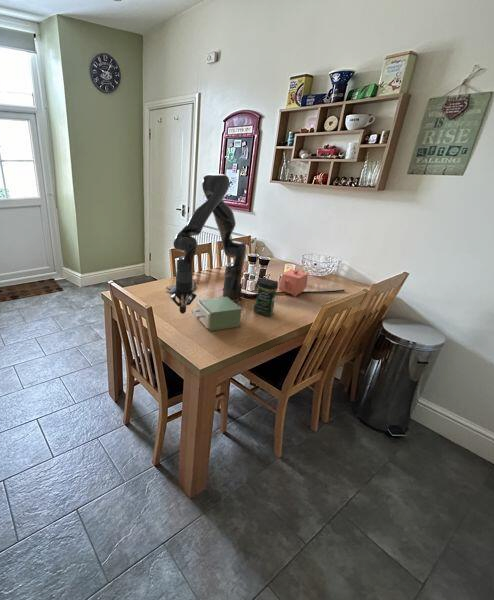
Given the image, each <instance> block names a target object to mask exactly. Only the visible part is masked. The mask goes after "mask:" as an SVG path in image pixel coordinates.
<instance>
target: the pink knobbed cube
mask: <svg viewBox="0 0 494 600" xmlns="http://www.w3.org/2000/svg"><path fill="white" fill-rule="evenodd" d="M307 284H308V273H307V272H305V271H303V270H298V269H289V270H286V271H284V272H283V273H282V274H281V277H280V279H279V282H278V291H279V292H287V293H286V294H290V295H291V296H292V297H297V296H298V295H299V294H302V293H301V292H305V290H306V289H307Z"/></svg>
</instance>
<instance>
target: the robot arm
mask: <svg viewBox="0 0 494 600" xmlns="http://www.w3.org/2000/svg"><path fill="white" fill-rule="evenodd" d="M230 183H231V181H230V178H229V177H228V175H226V174H221V173H207V174H205V175H204V176H203V178H202V181H201V186H202V187H201V188H202V191H203V194H204V196H205V198H206V201H204V202H203V203H202V204H201V205H200V206H198V207H197V208H196V209H195V210H194V212H193V213H192V214H191V216H190V218H189V220H188V221H187V223H186V225H185V226H184V227H183V228H181V230H180V231H179V232H178V233H177V234H176V236H175V238H174V240H173V248H174V250H176V251H178V252H182V253H185V254H184V255H181V256H178V257H177V259H176V271H175V286H176V290H175V293H173V294H172V295H170V296H169V298H170V299H171V300H172V301H173V303H174V304H175V305H176V306H177V307H178V308H179V309H178V310H179V311H178V312H180V314H181V315H183V314H185V313H186V312H187V306H190V305H191V304H192V303H193V301H194V300H195V299H196V297H197V294H196V293H195V292H194V291H193V290H192V280H193V264H194V263H193V262H194V259H195V255H196V253H197V249H198V241H197V239H196V238H195V236H199V235H200V234H201V233H202V231H203V229H204V227H205V225H206V223H207V221H208V219H209V218H210V217H211V215H213V217H214V221H215V223H216V226H217V229H218V232H219V235H220V239H221V243H222V248H223V252H224V254H225V256H226V257H228V258H231V259H234V262H228V263H227V264H225V272H224V279H223V288H222V297H228V298H229V299H230V300H232V301H233V302H238V301H239V300H241V298H242V297H243V296H245V297H246V298H253V297H257V295H258V293H254V294H251V295H248V294H247V293H246V292H243V291H242V288H243V283H242V277H243V268H244V266H245V262H246V261H245V260H246V256H247V244H246V243H245V242H242V241H236V240H234V239H233V235H232V233H233V232H234V230H235V228H236V224H237V223H236V222H237V221H236V217H235V215H234V211H233V210H232V209H231V207H230V206H229V205H228V204H227V203H226V202H225V201H224V200H223V199H224V197H225V196H226V195H227V193H228V191H229V188H230ZM339 292H345V289H337V290H315V291H313V290H312V291H310V290H309V291H303V292H301V293H300V294H323V293H324V294H325V293H339ZM277 294H279V295H280V294H288V293H287V292H281V291H276V293H275V295H277ZM177 299H178V300H177Z"/></svg>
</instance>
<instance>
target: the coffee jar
mask: <svg viewBox="0 0 494 600" xmlns="http://www.w3.org/2000/svg"><path fill="white" fill-rule="evenodd" d="M278 290H279V282H278V280H273V279H270V278H265V277H261V278H260V279H259V280H258V283H257V294H258V295H256V299H255V303H254V306H253V311H254V312H255V313H256V314H260V315H262V316H265V317H267V316H271V315H272V314H273V313H274V308H275V300H276V299H275V298H276V294H275V293H276V292H278Z"/></svg>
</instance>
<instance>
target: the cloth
mask: <svg viewBox="0 0 494 600" xmlns="http://www.w3.org/2000/svg"><path fill="white" fill-rule="evenodd" d="M195 288H196V287H195V279H192V291H194V289H195ZM166 289H168V291H167V293H170V294H171V293H172V294H175V290H176V285H172V286H167V287H166Z"/></svg>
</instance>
